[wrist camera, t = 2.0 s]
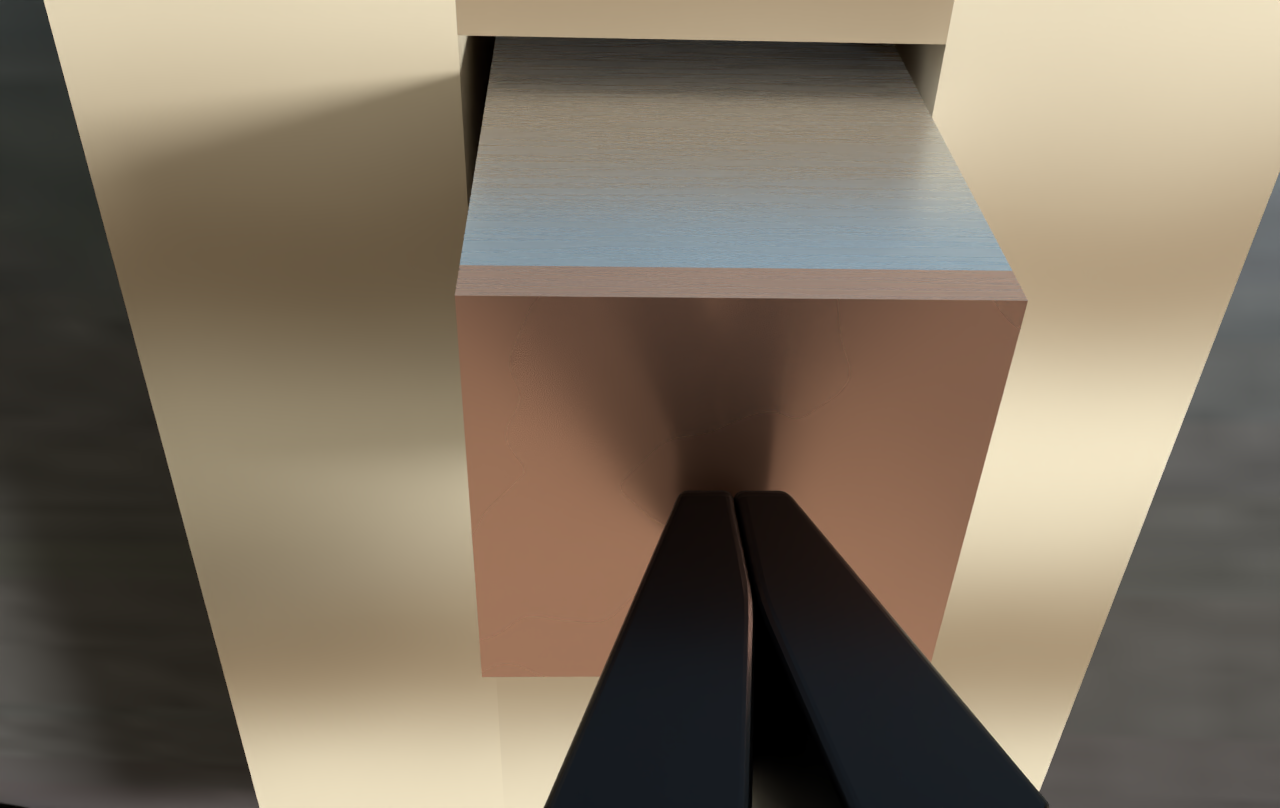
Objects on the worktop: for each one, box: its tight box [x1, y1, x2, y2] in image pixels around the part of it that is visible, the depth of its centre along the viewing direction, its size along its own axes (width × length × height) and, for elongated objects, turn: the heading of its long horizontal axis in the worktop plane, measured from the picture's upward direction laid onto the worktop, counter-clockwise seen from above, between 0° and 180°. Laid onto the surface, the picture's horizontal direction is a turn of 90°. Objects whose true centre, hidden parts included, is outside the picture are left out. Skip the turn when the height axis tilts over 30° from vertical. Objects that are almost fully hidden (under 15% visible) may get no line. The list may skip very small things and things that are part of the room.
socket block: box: [44, 0, 1280, 808], centre depth 19 cm, size 20×12×6 cm, turn 178°
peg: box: [455, 36, 1028, 677], centre depth 12 cm, size 4×4×6 cm
